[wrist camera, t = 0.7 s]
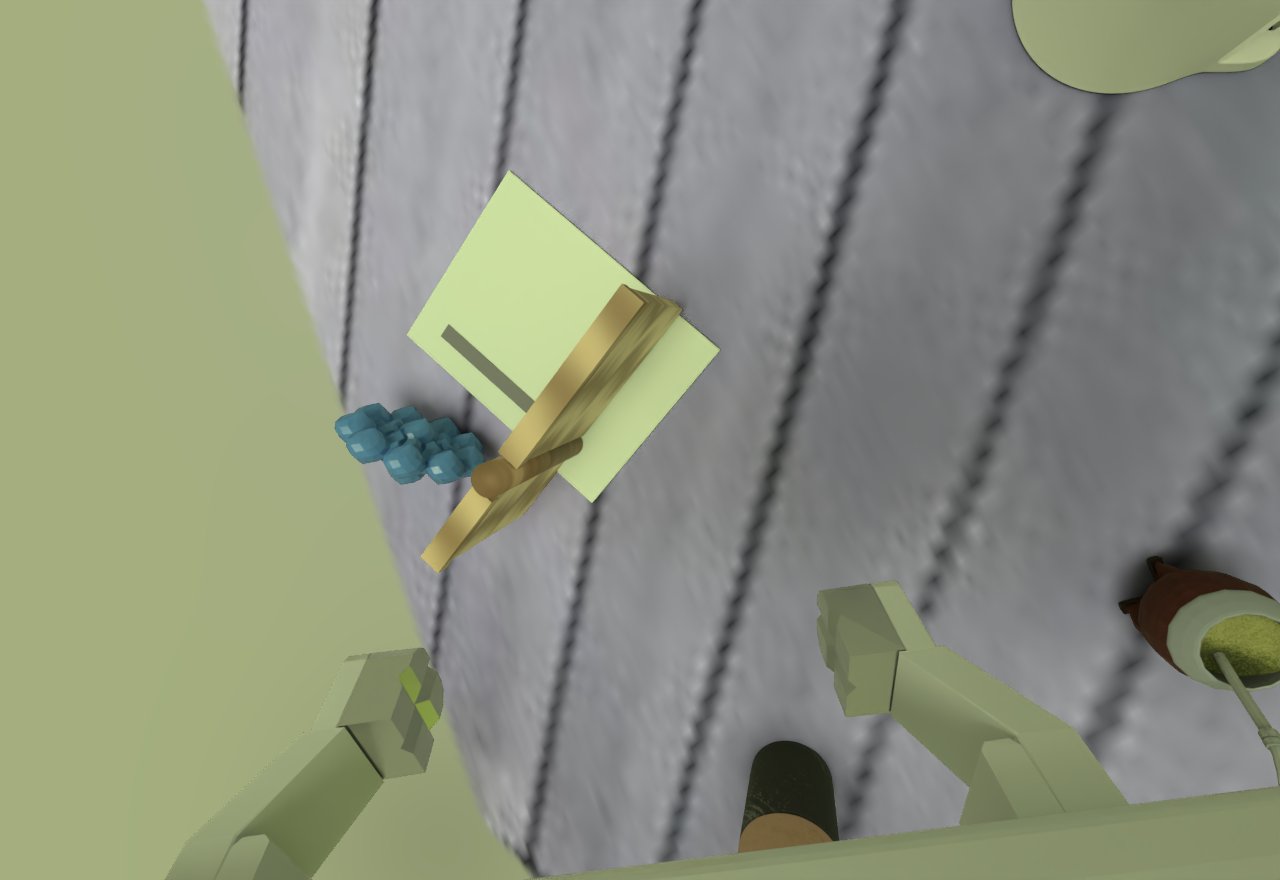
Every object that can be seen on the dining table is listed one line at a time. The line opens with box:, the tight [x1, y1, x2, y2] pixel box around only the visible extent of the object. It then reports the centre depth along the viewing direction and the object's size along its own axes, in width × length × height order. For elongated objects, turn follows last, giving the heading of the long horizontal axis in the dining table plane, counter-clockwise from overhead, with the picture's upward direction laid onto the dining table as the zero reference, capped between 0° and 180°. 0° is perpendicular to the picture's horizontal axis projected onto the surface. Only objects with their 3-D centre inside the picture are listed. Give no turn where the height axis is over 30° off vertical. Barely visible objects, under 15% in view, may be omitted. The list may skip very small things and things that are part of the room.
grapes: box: [335, 403, 486, 485], centre depth 50 cm, size 12×7×12 cm, turn 65°
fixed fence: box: [420, 437, 583, 573], centre depth 47 cm, size 10×2×15 cm, turn 141°
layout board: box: [407, 171, 720, 503], centre depth 51 cm, size 18×24×1 cm
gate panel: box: [498, 284, 683, 469], centre depth 43 cm, size 14×2×13 cm, turn 141°
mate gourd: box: [1119, 556, 1280, 786], centre depth 35 cm, size 8×8×15 cm
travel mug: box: [738, 741, 839, 853], centre depth 43 cm, size 8×8×20 cm
